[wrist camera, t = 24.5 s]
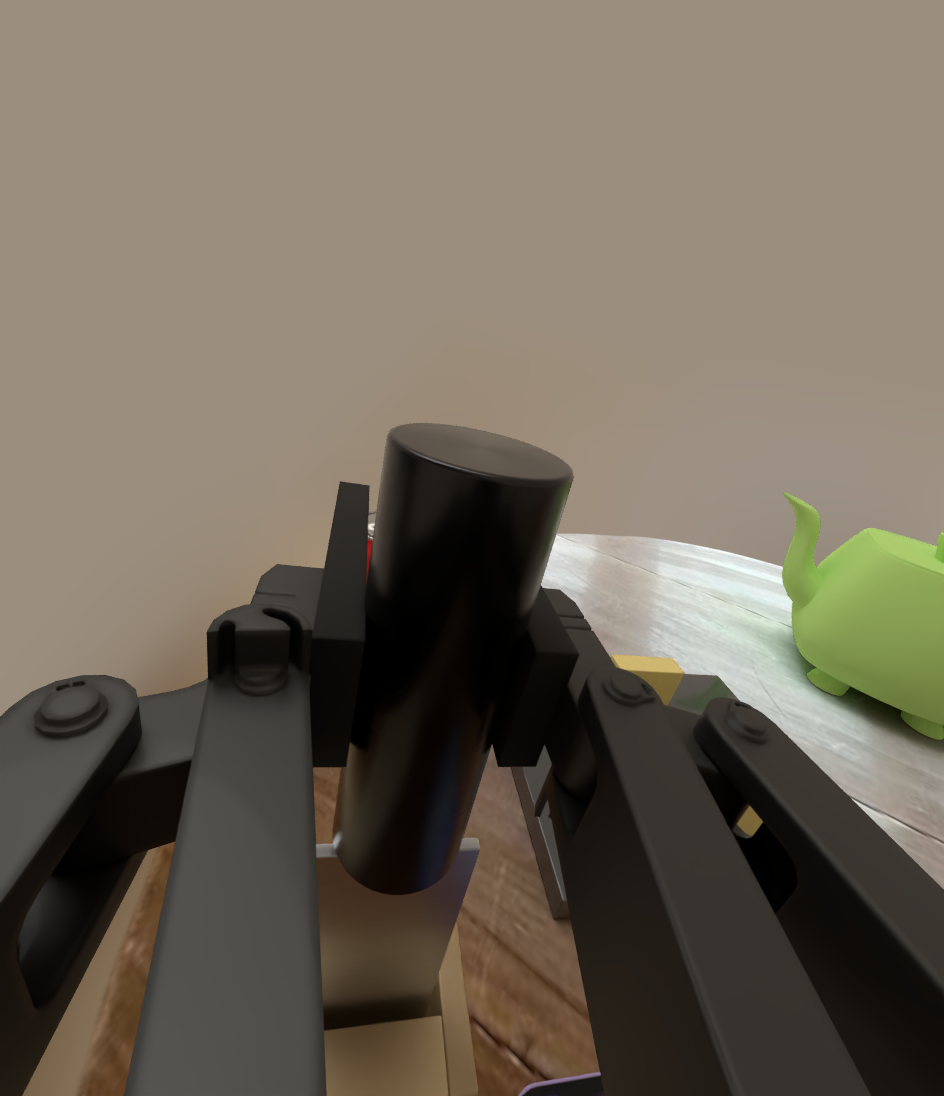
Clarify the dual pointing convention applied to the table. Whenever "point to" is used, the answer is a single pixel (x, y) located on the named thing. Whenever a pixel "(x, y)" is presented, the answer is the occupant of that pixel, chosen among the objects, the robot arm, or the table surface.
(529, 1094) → the smartphone
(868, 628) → the teapot
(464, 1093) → the knife block
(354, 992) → the knife
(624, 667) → the butter slice
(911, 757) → the table surface
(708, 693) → the board
